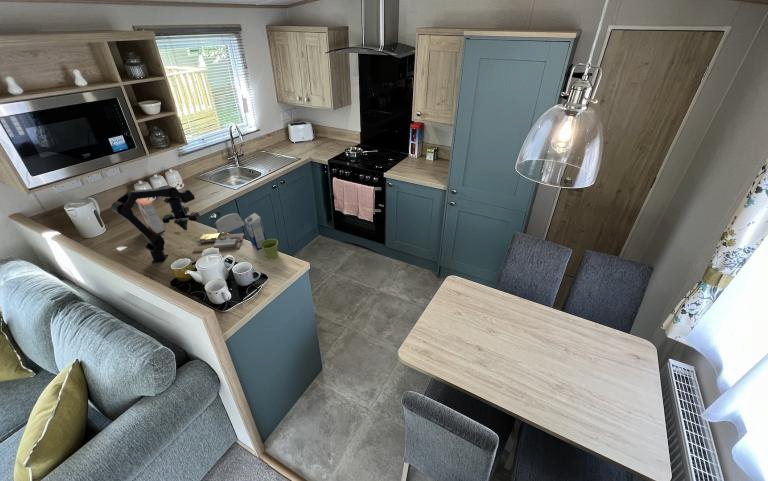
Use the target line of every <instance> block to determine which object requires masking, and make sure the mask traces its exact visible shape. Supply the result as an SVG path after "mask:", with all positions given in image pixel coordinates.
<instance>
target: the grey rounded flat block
mask: <svg viewBox="0 0 768 481" xmlns="http://www.w3.org/2000/svg"><path fill="white" fill-rule="evenodd" d="M214 223H215V227H216V231H217V233H220V235H226V234H227V233H229V232H232V231H234V230H236V229H239V228H241V227H243V226H246V223H245V221H243V219H242V217H241V216H240V214H238V213H229V214H228V213H227V214H225V215H223V216H221V217H220V218H218V219H217V220H216V221H215V222H214ZM222 232H224V233H222Z"/></svg>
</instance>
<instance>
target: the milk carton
mask: <svg viewBox="0 0 768 481" xmlns="http://www.w3.org/2000/svg"><path fill="white" fill-rule="evenodd" d="M244 224H245V226H246V229H247V233H248V236H249V240H250V243H251V246H252V247H253V248H254V249H255V250H257V251H259V250H263V248H262V247H261V243H262V242H263V241H265V240H267V238H266V233H265V229H264V226H263V223H262V218H261V216H259V214H257V213H255V212H253V213H252V214H250V215H249V216H247V217H246V218H245V219H244Z"/></svg>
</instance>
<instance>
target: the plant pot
mask: <svg viewBox="0 0 768 481" xmlns="http://www.w3.org/2000/svg"><path fill="white" fill-rule="evenodd" d="M278 245H279V240H278V239H276V238H269V239H267V238H266V240H265V241H263V242H262V243H261V247H262V250H263V251H264V254H265V257H266V258H267V259H268V260H270V259H272V260H273V259H276V258H277V257H278V255H279V252H278Z"/></svg>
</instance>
